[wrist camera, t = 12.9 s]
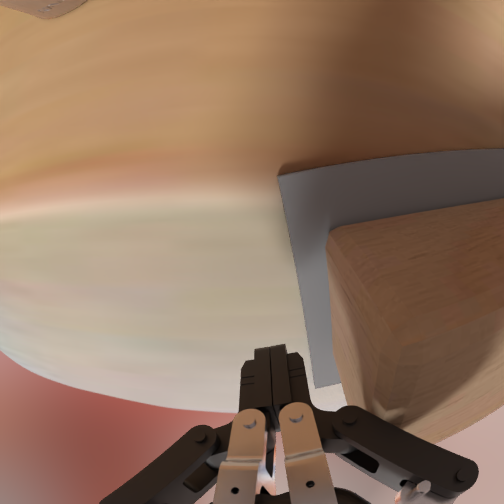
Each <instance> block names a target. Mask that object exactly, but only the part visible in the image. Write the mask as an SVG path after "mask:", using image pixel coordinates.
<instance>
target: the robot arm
mask: <svg viewBox="0 0 504 504" xmlns="http://www.w3.org/2000/svg"><path fill="white" fill-rule="evenodd" d="M85 1H87V0H0V5H1V6H4V7H8V8H11V9H15V10H18V11H21V12H25V13H28V14H31V15H34V16H37V17H39V18H43V19H50V18H55V17H58V16H61V15H63V14H66V13H68V12H69V11H71V10H73V9H75V8H77V7H78V6H80V5H81V4H83V3H84V2H85ZM240 385H241V386H240V399H239V412H238V414H237V415H236V416H235V417H234V419H233V421H232V422H230V423H229V424H227V425H224V426H221V427H218V428H215V429H213V428H211V427H210V426H207V425H198V426H195V427H193V428H191V429H190V430H189V431H188V432H187V433H186V434H185V435H183V436H182V437H181V438H180V439H179V440H178V441H177V442H175V443H174V444H173V445H172V446H171V447H170V448H169V449H167V450H166V451H165V452H164V453H163V454H161V455H160V456H159V457H158V458H157V459H155V460H154V461H153V462H152V463H150V464H149V465H148V466H147V467H145V468H144V469H143V470H142V471H140V472H139V473H138V474H137V475H135V476H134V477H133V478H132V479H130V480H129V481H127V482H126V483H125V484H123V485H122V486H121V487H119V488H118V489H117V490H115V491H114V492H112V493H111V494H110V495H108V496H107V497H105V498H104V499H103V500H101V502H100V503H99V504H194V503H195V502H196V501H197V500H198V499H199V498H201V497H202V496H203V495H204V494H205V493H206V492H207V491H208V490H209V489H210V488H212V487H213V486H214V485H215V484H216V489H215V494H214V500H213V502H211V503H210V504H371V503H369V502H368V501H366V500H365V499H363V498H362V497H360V496H359V495H357V494H356V493H354V492H352V491H349V490H346V489H343V488H337V487H333V483H332V479H331V475H330V471H329V467H328V464H327V460H326V456H325V453H335V454H336V455H337V456H338V457H340V458H341V459H343V460H344V461H346V462H348V463H349V464H351V465H352V466H354V467H356V468H357V469H359V470H360V471H362V472H364V473H365V474H367V475H369V476H370V477H372V478H374V479H375V480H377V481H379V482H381V483H382V484H385V485H386V486H388V487H390V488H392V489H393V490H395V491H397V492H398V493H397V495H396V497H395V504H453V502H454V501H455V499H456V498H457V497H458V496H459V495H460V494H462V493H463V492H465V491H466V490H468V489H469V488H470V487H472V486H473V485H474V483H475V482H476V480H477V478H478V473H479V471H478V466H477V464H476V463H475V462H474V461H472V460H470V459H467V458H464V457H462V456H460V455H457V454H455V453H452V452H450V451H448V450H445V449H443V448H441V447H438V446H436V445H434V444H432V443H430V442H427V441H425V440H423V439H421V438H419V437H417V436H415V435H413V434H411V433H409V432H406V431H404V430H402V429H400V428H398V427H396V426H394V425H393V424H391V423H389V422H387V421H385V420H383V419H381V418H379V417H377V416H375V415H373V414H372V413H370V412H368V411H366V410H364V409H362V408H361V407H358V406H354V405H349V406H344V407H342V408H340V409H339V410H337V411H336V412H332V411H323V410H320V409H317V408H316V407H315V406H314V405H313V404H312V402H311V400H310V394H309V389H308V383H307V377H306V372H305V366H304V361H303V358H302V357H301V356H300V355H299V353H298V352H295V353H290V354H287V350H286V345H285V344H281V345H276V346H270V347H264V348H258V349H255V351H254V360H248V361H245V363H244V365H243V367H242V368H241V382H240ZM280 431H281V435H282V440H283V447H284V453H285V468H286V474H287V480H288V486H289V492H286V493H283V494H280V495H276V485H275V464H276V436H275V435H276V434H275V432H280Z"/></svg>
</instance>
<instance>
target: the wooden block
mask: <svg viewBox="0 0 504 504" xmlns="http://www.w3.org/2000/svg"><path fill="white" fill-rule="evenodd" d="M325 250H326V260H327V270H328V281H329V294H330V308H331V324H332V346H333V356H334V359H335V363H336V366H337V369H338V373H339V376H340V380H341V383H342V387H343V391H344V394H345V398H346V401H347V405H348V406H349V405H354V406H358V407H361V408H362V409H364V410H366V411H368V412H370V413H372V414H373V415H375V416H377V417H379V418H381V419H383V420H385V421H387V422H389V423H391V424H393V425H394V426H396V427H398V428H400V429H402V430H404V431H406V432H409V433H411V434H413V435H415V436H417V437H419V438H421V439H423V440H425V441H427V442H430V443H432V444H435V443H437V442H440V441H442V440H443V439H446V438H447V437H450V436H452V435H454V434H456V433H458V432H460V431H462V430H464V429H465V428H467V427H469V426H471V425H473V424H474V423H476V422H478V421H479V420H481V419H483V418H484V417H486V416H488V415H489V414H491V413H492V412H494V411H495V410H497V409H499V408H500V407H501V406H503V405H504V198H502V199H496V200H490V201H484V202H478V203H472V204H466V205H460V206H454V207H448V208H442V209H436V210H430V211H424V212H418V213H413V214H407V215H401V216H395V217H390V218H384V219H378V220H373V221H367V222H362V223H356V224H350V225H345V226H340V227H337V228H336V229H334V230H332V231H330V232H329V235H328V239H327V242H326V246H325Z"/></svg>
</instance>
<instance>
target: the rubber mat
mask: <svg viewBox="0 0 504 504" xmlns="http://www.w3.org/2000/svg"><path fill="white" fill-rule="evenodd" d="M277 178H278V182H279V187H280V191H281V196H282V201H283V206H284V210H285V215H286V220H287V225H288V230H289V235H290V240H291V245H292V251H293V256H294V261H295V266H296V272H297V277H298V283H299V289H300V294H301V300H302V306H303V312H304V318H305V324H306V331H307V337H308V344H309V350H310V357H311V364H312V371H313V378H314V385H315V389H316V388H321V387H326V386H330V385H335V384H339V383H341V380H340V376H339V373H338V369H337V366H336V363H335V359H334V356H333V346H332V324H331V308H330V294H329V281H328V270H327V260H326V250H325V246H326V242H327V239H328V235H329V232H330V231H332V230H334V229H336V228H337V227H340V226H345V225H350V224H356V223H362V222H367V221H373V220H378V219H384V218H390V217H395V216H401V215H407V214H413V213H418V212H424V211H430V210H436V209H442V208H448V207H454V206H460V205H466V204H472V203H478V202H484V201H490V200H496V199H502V198H504V148H497V149H470V150H454V151H440V152H429V153H418V154H409V155H400V156H392V157H384V158H376V159H369V160H362V161H355V162H349V163H343V164H336V165H330V166H325V167H319V168H314V169H308V170H303V171H298V172H293V173H288V174H283V175H278V176H277Z"/></svg>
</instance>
